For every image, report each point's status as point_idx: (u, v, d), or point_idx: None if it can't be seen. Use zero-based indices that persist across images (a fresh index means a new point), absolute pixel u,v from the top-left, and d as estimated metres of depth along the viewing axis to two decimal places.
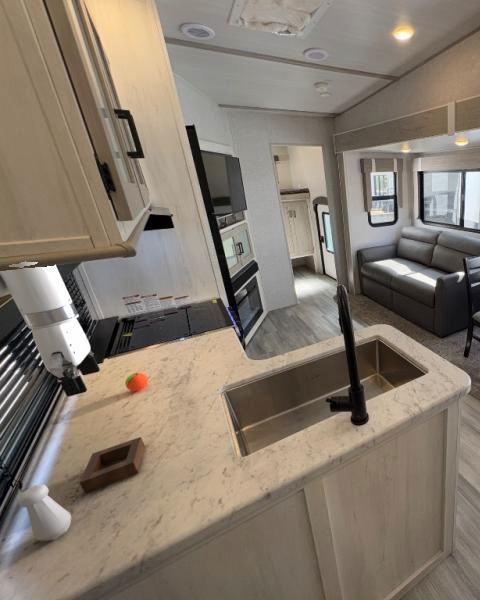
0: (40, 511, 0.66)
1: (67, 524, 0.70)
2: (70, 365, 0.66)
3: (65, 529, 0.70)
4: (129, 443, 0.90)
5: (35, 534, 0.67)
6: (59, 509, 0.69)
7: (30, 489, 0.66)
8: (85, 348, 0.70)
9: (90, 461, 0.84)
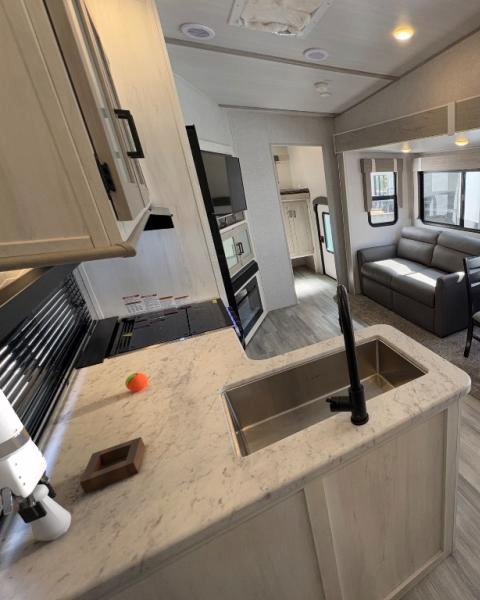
0: None
1: (67, 524, 0.70)
2: None
3: (65, 529, 0.70)
4: (129, 443, 0.90)
5: (35, 534, 0.67)
6: (59, 509, 0.69)
7: None
8: (39, 470, 0.67)
9: (90, 461, 0.84)
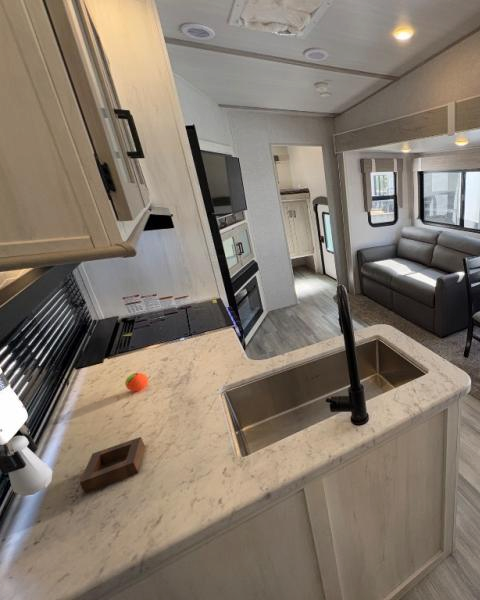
0: None
1: (48, 479, 0.67)
2: None
3: (45, 484, 0.67)
4: (129, 443, 0.90)
5: (13, 487, 0.64)
6: (40, 462, 0.67)
7: None
8: (19, 419, 0.64)
9: (90, 461, 0.84)
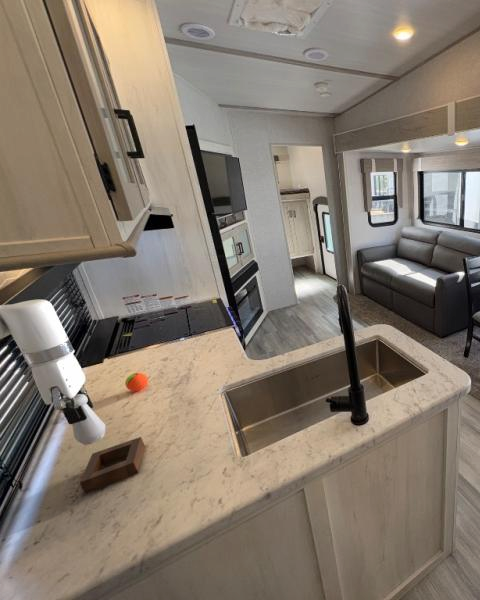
0: None
1: (103, 432, 0.80)
2: (70, 398, 0.73)
3: (101, 436, 0.80)
4: (129, 443, 0.90)
5: (76, 436, 0.77)
6: (96, 417, 0.79)
7: None
8: (80, 380, 0.77)
9: (90, 461, 0.84)
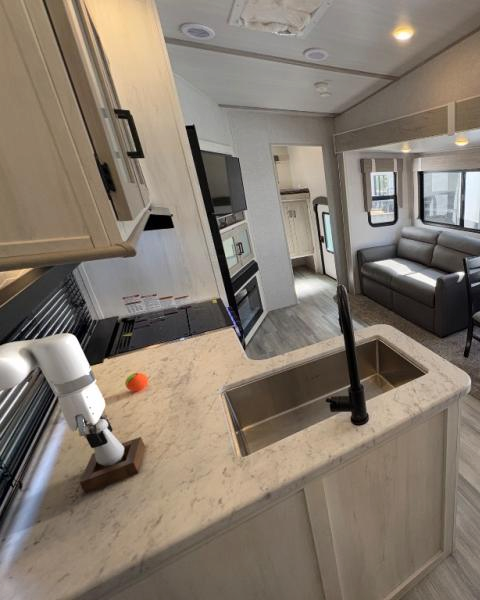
0: None
1: (122, 454, 0.85)
2: (92, 424, 0.78)
3: (120, 457, 0.85)
4: (129, 443, 0.90)
5: (98, 459, 0.82)
6: (116, 440, 0.84)
7: None
8: (101, 406, 0.81)
9: (90, 461, 0.84)
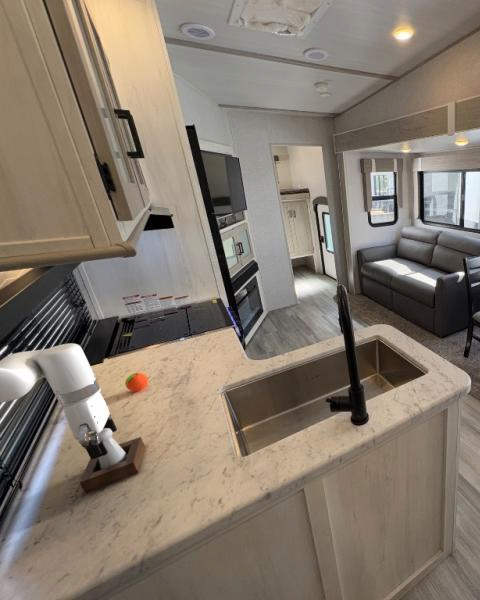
0: (107, 448, 0.82)
1: None
2: (94, 433, 0.78)
3: None
4: (129, 443, 0.90)
5: (103, 467, 0.83)
6: (120, 449, 0.85)
7: None
8: (105, 415, 0.82)
9: (90, 461, 0.84)
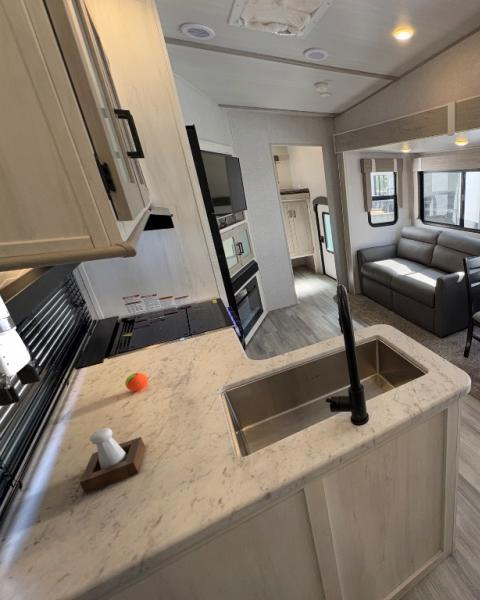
0: (107, 448, 0.82)
1: None
2: (3, 376, 0.69)
3: None
4: (129, 443, 0.90)
5: (103, 467, 0.83)
6: (120, 449, 0.85)
7: (99, 431, 0.82)
8: (23, 359, 0.73)
9: (90, 461, 0.84)
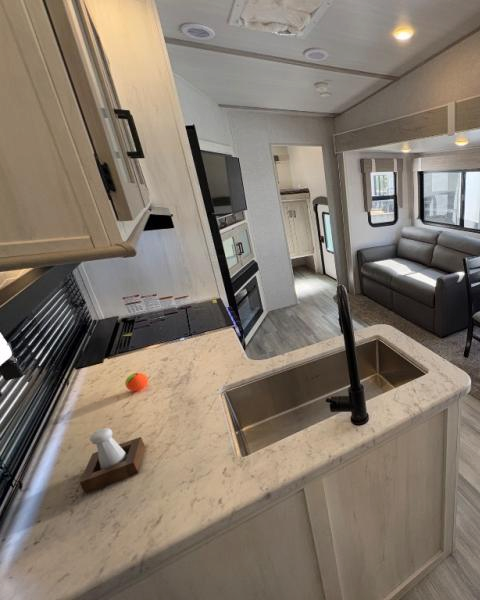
0: (107, 448, 0.82)
1: None
2: None
3: None
4: (129, 443, 0.90)
5: (103, 467, 0.83)
6: (120, 449, 0.85)
7: (99, 431, 0.82)
8: (3, 354, 0.72)
9: (90, 461, 0.84)
